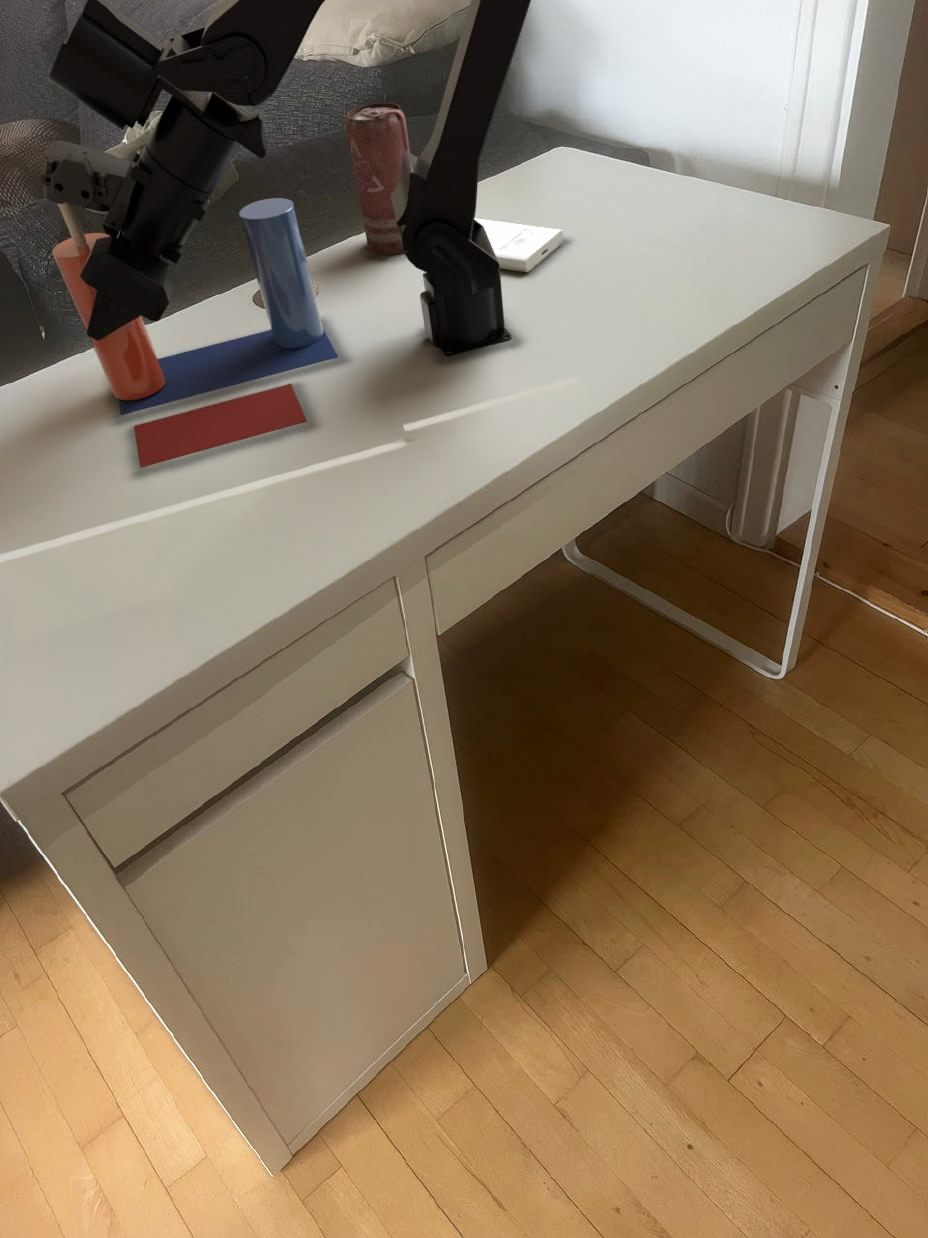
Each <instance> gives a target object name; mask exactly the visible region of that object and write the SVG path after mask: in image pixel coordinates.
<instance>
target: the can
mask: <svg viewBox="0 0 928 1238" xmlns="http://www.w3.org/2000/svg"><path fill="white" fill-rule="evenodd" d="M346 116H347V118H346V121H345V129H346V134H347V135H346V136H347V140H348V146H349V151H350V157H351V163H352V168H353V174H354V178H355V183H356V189H357V195H358V200H359V205H360V210H361V216H362V222H363V227H364V233H365V238H366V243H367V249H368V251H370V252H371V253H372V254H373V255H377V256H383V257H385V256H387V257H389V256H396V255H397V256H398V255H403V254H405V253H404V251H403V247H402V243H401V238H400V234H399V230H398V226H397V224H396V219H395V215H394V211H393V206H392V202H391V198H390V196H391V194H392V193H393V191H394V190H395V189H396V187H397V184H398V182H399V180H400V174H401V165H402V157H403V152H404V151H407V152H409V153H411V150H410V144H409V135H408V129H407V121H406V116H405V113H404V112H403V110H402V109H401V106H400V105H399V104H397V103H394V102H393V103H392V102H376V103H369V104H365V105H362V106H361V105H360V106H359V107H356V108H354V109H351V110H350V111H348V113H347V115H346Z"/></svg>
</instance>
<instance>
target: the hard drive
mask: <svg viewBox="0 0 928 1238" xmlns="http://www.w3.org/2000/svg"><path fill="white" fill-rule="evenodd" d="M475 220H476V221H477V222H479V223H480V224H481V225H483V227H484V229H485V231H486V234H487V236H488V238H489V241H490V243H491V246H492V248H493V250H494V253H495V255H496V258H497V260H498V262H499V269H501V270H509V271H514V272H515V271H516V272H524V273H529V272H530V271H532V270H533V269H535V268H536V266H538V265H539V264H540V263H541V262H542V261H544V260H545V259H546V258H547V257H549V255H551V253H553V252H554V251H556V250H557V248H558V247H560V246H561V245H562V243H563V242H564V230H563V229H557V228H549V227H541V226H534V225H527V224H520V223H512V222H506V221H505V222H504V221H498V220H490V219H482V218H475Z"/></svg>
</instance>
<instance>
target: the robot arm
mask: <svg viewBox="0 0 928 1238" xmlns="http://www.w3.org/2000/svg"><path fill="white" fill-rule="evenodd" d="M325 1H326V0H224V1H222V2H221V3H220V4H219V5H217V6H216V8H214V10H212V12H211V14H210V15H209V18H208V19H207V22H206V24H205V25H203V26H200V27H198V28H195V29H192V30H190V31H186V32H184V33H181V34H178V33H176V35H175V36H172V37H168V38H167V39H166V40H165V43H164V44H163V43H162V42H161V41H159V40H157V39H156V38H155V37H154V36H152V35H151V34H150V33H148V32H147V31H145V30H144V29H143V28H142V27H140V26H139V25H137V24H136V23H134V21H132V20H131V19H129V18H128V17H127V16H125V15H124V14H123V13H122V12H121V11H120V10H119V9H118V8H117V7H116V6H115V5H114V4H113V2H111V1H110V0H87V1H86V3H85V4H84V7H83V9H82V12H81V13H80V15H79V16H78V19H77V20H76V22H75V25H74V27H73V28H72V30H71V32H70V33H69V34H68V35H67V37H66V38H65V39H64V40H63V42H62V44H61V46H60V48H59V50H58V53H57V55H56V57H55V60H54V62H53V65H52V67H51V70H50V74H49V77H48V81H49V82H50V83H52V84H54V85H55V86H56V87H58V88H59V89H61V90H62V91H64V92H66V94H69V95H70V96H71V97H73V98H74V99H75V100H77V101H78V102H80V103H81V104H83V105H84V106H86V107H87V108H89V109H91V110H92V111H94V112H95V113H97V114H98V115H100V116H101V117H102V118H104V119H106V120H107V121H109V122H110V123H112V124H113V125H115V127H118V128H119V129H120V130H122V131H124V129H125V127H126V126H127V127H129V128H130V129H132V130H133V129H134V128H135V125H136V124H138V125H139V126H140V127H142V128H144V127H145V126H146V123H147V121H148V120H149V117H150V116H151V114H152V112H153V109H154V107H155V105H156V103H157V102H158V99H159V97H160V95H161V93H162V91H163V90H164V91H165V92H166V93H168V94H169V95H170V96H169V99H168V101H167V102H166V105H165V106H164V108H163V110H162V112H161V115H160V116H159V118H158V120H157V122H156V124H155V126H154V128H153V129H152V132H151V134H150V135H149V138H148V140H147V142H146V143H145V146H143V147H142V149H140V148H137V149H136V152H135V154H134V155H133V158H132V160H131V161H130V160H127V159H124V158H121V157H118V156H115V155H114V154H111V153H108V152H105V151H102V150H99V149H95V148H92V147H87V146H84V145H81V144H77V143H73V142H70V141H65V140H59V139H58V140H53V141H52V142H51V143H50V145H49V146H48V148H47V150H46V151H45V153H44V171H43V173H42V175H41V178H40V179H41V180H40V181H41V183H42V184H43V196H44V198H45V199H46V200H47V201H49V202H51V203H55V204H57V205H58V204H63V203H68V204H72V205H73V206H76V207H80V208H84V209H88V210H91V211H95V212H102V213H105V212H106V213H105V215H104V219H103V221H102V223H101V225H102V228H103V231H104V234H108V235H109V236H110V237H104V238H98V239H97V240H96V242H95V244H94V246H93V248H92V249H91V252H90V254H89V256H88V258H87V260H86V262H85V264H84V267H83V269H82V272H81V274H80V277H81V278H82V280H83V281H84V282H85V283H86V284H88V285H89V286H91V287H93V288H95V289H96V290H97V292H96V296H95V300H94V304H93V308H92V312H91V316H90V320H89V324H88V328H87V332H86V336H88V338H89V337H91V338H93V339H95V340H97V341H99V340H101V339H103V338H104V337H106V336H108V335H109V334H111V333H112V332H114V331H116V330H117V329H119V328H121V327H122V326H124V325H126V324H128V323H129V322H131V321H133V320H134V319H136V318H138V317H140V316H142V317H143V318H145V319H146V320H148V321H151V322H160V321H161V318H162V316H163V315H164V313H165V311H166V309H167V307H168V306H169V305H170V302H171V296H172V292H173V288H174V282H173V279H172V277H171V274H170V271H169V268H168V267H169V266H170V265H171V262H172V263H173V264H175V265H177V263H178V262H179V260H180V258H181V257H182V255H183V250H184V246H185V243H186V241H187V240H188V237H190V234H191V233H192V231H193V229H194V228H195V226H196V224H197V222H200V223H201V221H202V220H203V218H204V216H205V214H206V213H207V208H208V204H209V201H210V199H211V197H212V195H213V193H214V192H215V189H216V188H217V186H218V184H219V182H220V181H221V179H222V177H223V175H224V174H225V172H226V170H227V169H228V167H229V164H230V163H231V161H232V159H233V158H234V156H235V155H236V153H237V150H238V149H239V147H240V146H242V147H243V148H245V149H246V150H248V151H249V152H250V153H252V155H254V156H256V157H257V158H259V159H265V158H266V157H267V151H268V139H267V136H266V133H265V130H264V126H263V117H264V115H263V114H264V113H263V112H262V111H261V110H260V109H259V110H258V109H257V110H254V111H250V112H249V111H248V112H247V111H243V110H241V109H240V108H238V107H237V106H239V107H257V106H259V105H261V104H263V103H265V102H266V101H267V100H268V99H270V98H271V97H272V96H273V95H274V94H275V92H276V91H277V88H278V87H279V85H280V84H281V82H282V81H283V78H284V77H285V74H286V73H287V71H288V69H289V67H290V66H291V64H292V62H293V60H294V58H295V57H296V55H297V53H298V51H299V49H300V47H301V44H302V43H303V41H304V40H305V37H306V34H307V32H308V30H309V28H310V26H311V24H312V23H313V21H314V19H315V17H316V15H317V14H318V12H319V9H320V8H321V7H322V5H323V4H324V2H325ZM531 2H532V0H470V2H469V6H468V8H467V12H466V17H465V20H464V24H463V27H462V30H461V34H460V38H459V41H458V44H457V48H456V51H455V54H454V59H453V61H452V65H451V69H450V73H449V76H448V79H447V83H446V87H445V90H444V93H443V97H442V101H441V104H440V108H439V111H438V114H437V118H436V121H435V125H434V129H433V132H432V135H431V137H430V139H429V141H428V143H426V145H425V147H424V149H423V150H422V151H421V153H420V155H419V156H416V155H415V154H413V153H411V152H410V153H409V152H407V151H404V152H403V157H402V165H401V174H400V180H399V182H398V184H397V187H396V189H395V190H394V191H393V193H392V194H391V196H390V198H391V202H392V206H393V211H394V215H395V219H396V224H397V226H398V230H399V234H400V238H401V243H402V247H403V251H404V253H403V254H404V255H405V257H406V259H407V260H408V262H410V263H411V264H412V265H413V267H415V268H416V269H418V270H420V271H422V272H424V273H422V278H423V285H424V291H422V292H420V295H419V299H420V307H421V313H422V319H423V327H424V332H425V336H426V338H428V340H429V342H430V343H431V344H432V345H433V346H434V347H438V348H439V350H440V351H441V353H442V354H443V356H445V357H453V356H456V355H457V356H458V355H460V354H463V353H468V352H471V351H475V350H478V349H481V348H486V347H489V346H493V345H495V344H500V343H503V342H507V341H511V340H512V338H513V336H512V334H511V333H510V332H509V330H508V329H507V328H506V327H505V316H504V315H505V314H504V303H503V301H504V300H503V290H502V280H501V279H502V278H501V270H500V269H501V268H499V262H498V260H497V258H496V255H495V253H494V250H493V248H492V246H491V243H490V241H489V238H488V236H487V234H486V231H485V229H484V227H483V225H481V224H480V223H479V222H477V221H476V220H475V219H476V213H477V200H478V183H479V169H480V162H481V158H482V154H483V152H484V148H485V146H486V142H487V139H488V136H489V132H490V131H491V127H492V124H493V120H494V117H495V114H496V112H497V107H498V105H499V101H500V99H501V95H502V92H503V89H504V86H505V83H506V80H507V76H508V73H509V71H510V68H511V64H512V61H513V57H514V55H515V52H516V49H517V45H518V42H519V40H520V37H521V33H522V30H523V28H524V24H525V21H526V18H527V14H528V11H529V8H530V5H531ZM204 93H208V95H205V94H204Z"/></svg>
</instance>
